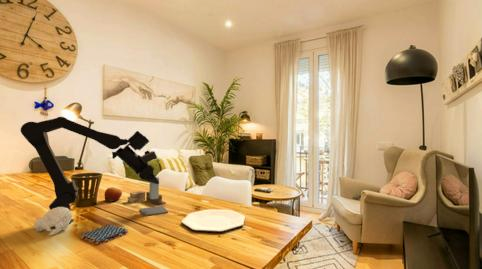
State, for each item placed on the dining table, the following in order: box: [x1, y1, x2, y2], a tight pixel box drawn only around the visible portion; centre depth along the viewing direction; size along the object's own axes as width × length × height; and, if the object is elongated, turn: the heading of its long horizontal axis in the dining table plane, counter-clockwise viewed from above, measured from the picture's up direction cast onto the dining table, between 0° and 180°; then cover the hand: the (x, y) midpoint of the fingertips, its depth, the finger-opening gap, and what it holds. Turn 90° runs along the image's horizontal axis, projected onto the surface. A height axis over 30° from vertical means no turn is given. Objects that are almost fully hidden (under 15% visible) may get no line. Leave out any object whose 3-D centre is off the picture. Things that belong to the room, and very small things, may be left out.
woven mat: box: [80, 224, 129, 246], centre depth 77 cm, size 10×11×2 cm
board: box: [148, 175, 160, 199], centre depth 104 cm, size 3×5×9 cm, turn 30°
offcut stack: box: [127, 190, 146, 204], centre depth 120 cm, size 7×4×4 cm, turn 140°
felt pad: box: [139, 205, 169, 217], centre depth 104 cm, size 10×10×1 cm
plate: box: [181, 208, 246, 233], centre depth 92 cm, size 24×24×2 cm
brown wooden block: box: [145, 191, 167, 206], centre depth 119 cm, size 4×12×4 cm, turn 50°
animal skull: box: [33, 207, 73, 237], centre depth 80 cm, size 6×8×12 cm
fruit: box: [104, 186, 123, 204], centre depth 120 cm, size 8×8×8 cm
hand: (157, 182), depth 104 cm, fingers closed on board, 5 cm apart
